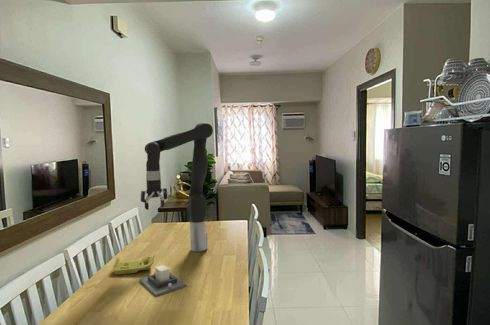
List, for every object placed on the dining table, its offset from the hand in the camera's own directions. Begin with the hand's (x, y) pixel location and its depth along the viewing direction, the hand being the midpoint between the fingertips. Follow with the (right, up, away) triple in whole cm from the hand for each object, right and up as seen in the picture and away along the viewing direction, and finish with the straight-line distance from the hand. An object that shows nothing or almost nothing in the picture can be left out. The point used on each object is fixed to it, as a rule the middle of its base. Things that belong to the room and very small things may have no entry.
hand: (154, 208), depth 165 cm
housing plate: (+12, -29, -30) cm, 44 cm away
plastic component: (-5, -29, -15) cm, 33 cm away
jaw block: (+13, -28, -30) cm, 43 cm away
